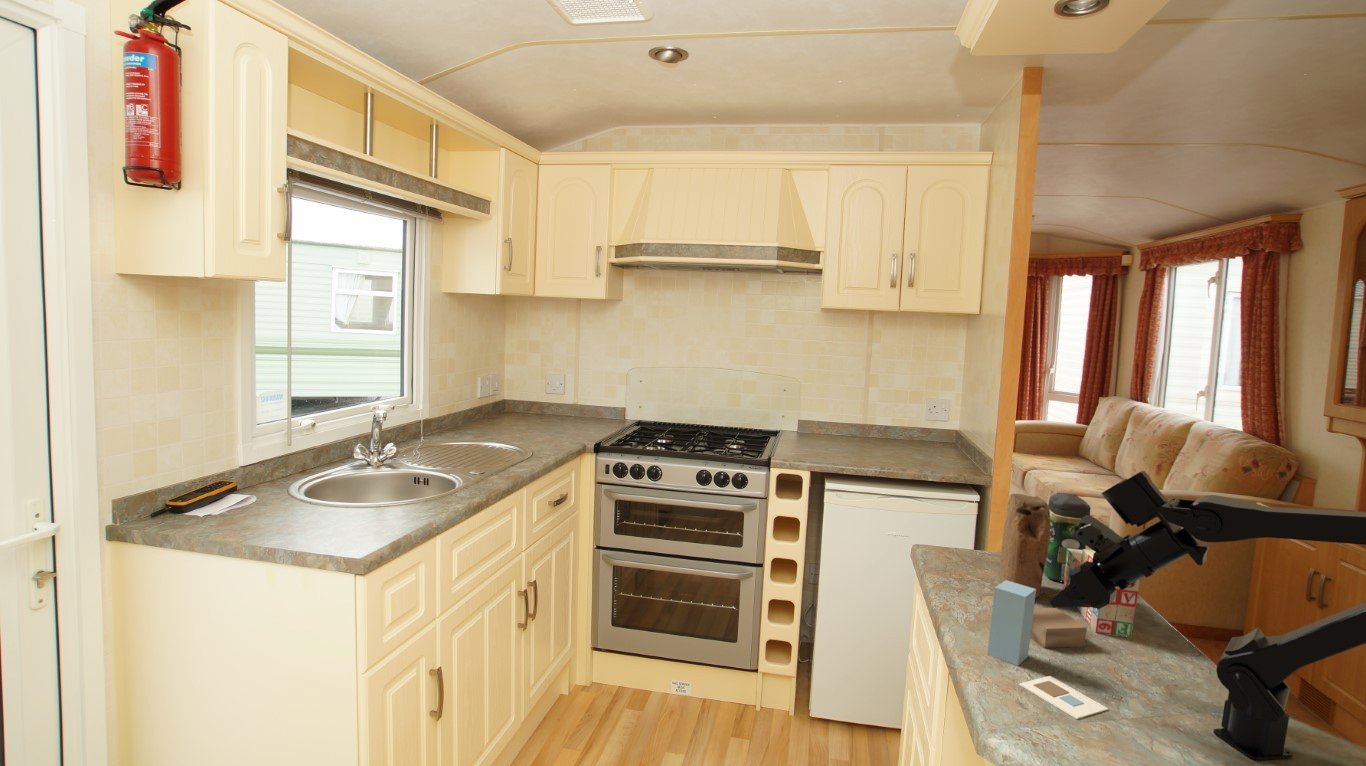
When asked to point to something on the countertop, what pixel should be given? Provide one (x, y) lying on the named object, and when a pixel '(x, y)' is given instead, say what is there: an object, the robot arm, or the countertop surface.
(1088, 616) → the stack of blocks
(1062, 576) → the coffee jar
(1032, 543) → the block
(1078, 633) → the walnut base
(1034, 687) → the page
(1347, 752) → the countertop surface
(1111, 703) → the countertop surface
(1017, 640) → the blue brick
